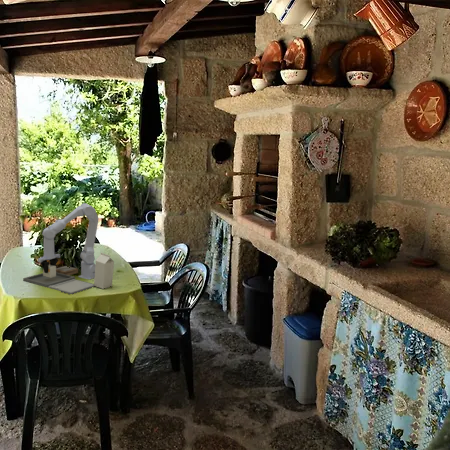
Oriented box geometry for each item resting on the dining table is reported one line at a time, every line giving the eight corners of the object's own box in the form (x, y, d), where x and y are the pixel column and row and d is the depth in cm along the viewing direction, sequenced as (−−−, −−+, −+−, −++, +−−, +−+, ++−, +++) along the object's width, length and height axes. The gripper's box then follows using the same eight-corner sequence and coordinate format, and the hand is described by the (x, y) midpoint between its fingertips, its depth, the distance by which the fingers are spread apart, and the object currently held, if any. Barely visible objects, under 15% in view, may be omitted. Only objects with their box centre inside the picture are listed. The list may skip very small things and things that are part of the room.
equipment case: (97, 285, 286) (97, 282, 285) (70, 294, 269) (70, 291, 268) (51, 274, 304) (51, 270, 304) (23, 281, 287) (23, 278, 286)
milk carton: (102, 289, 280) (105, 256, 276) (93, 285, 284) (96, 253, 279) (112, 286, 286) (114, 254, 282) (103, 282, 290) (105, 251, 285)
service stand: (77, 273, 308) (77, 268, 307) (65, 277, 299) (65, 271, 299) (66, 270, 313) (66, 265, 312) (53, 274, 304) (53, 268, 304)
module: (55, 276, 290) (55, 266, 289) (50, 277, 287) (50, 267, 286) (48, 274, 293) (48, 264, 292) (42, 275, 290) (42, 265, 289)
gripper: (54, 245, 295) (54, 268, 298) (33, 250, 283) (34, 273, 285) (62, 247, 292) (62, 270, 294) (42, 252, 279) (42, 275, 282)
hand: (49, 271), depth 290 cm, fingers closed on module, 4 cm apart
